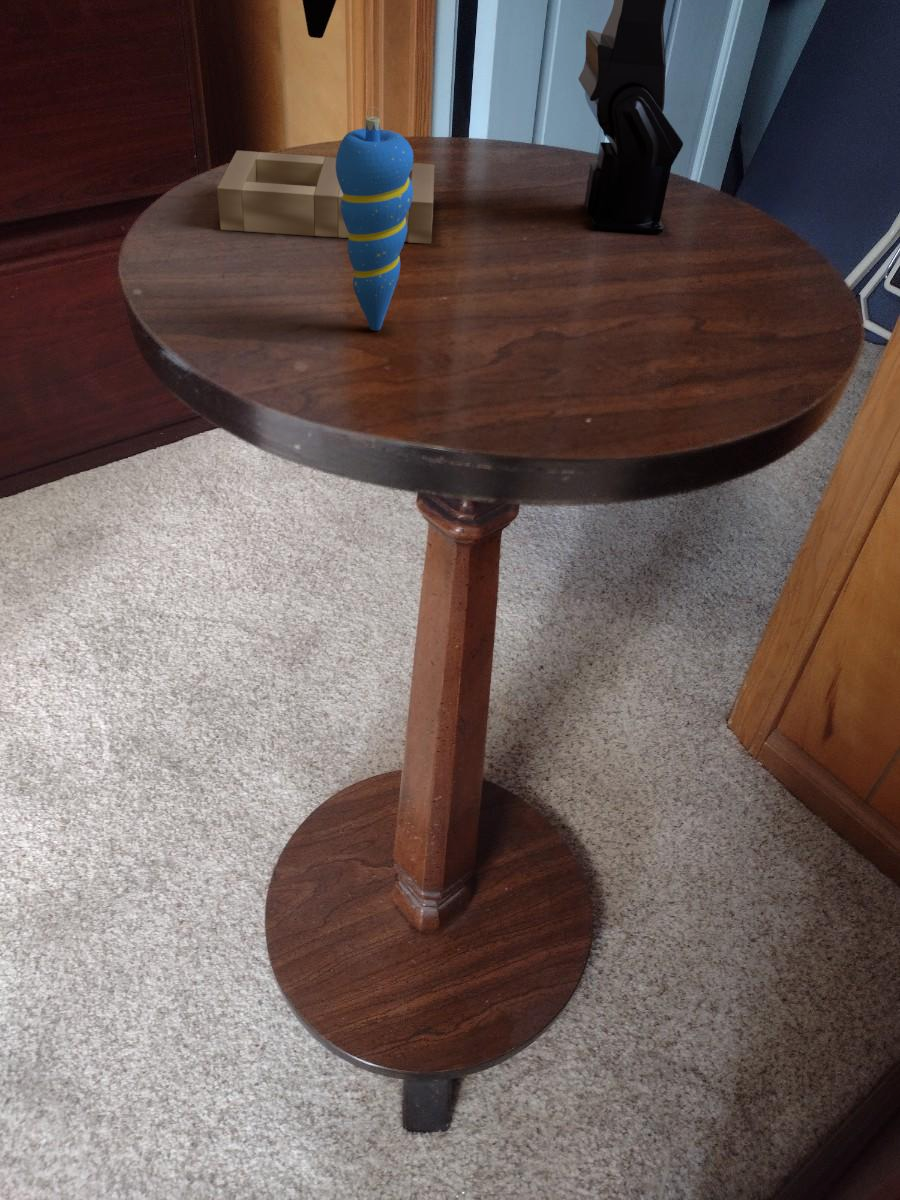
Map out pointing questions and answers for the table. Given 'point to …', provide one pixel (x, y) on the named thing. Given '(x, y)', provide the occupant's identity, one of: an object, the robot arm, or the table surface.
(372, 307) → the ornament
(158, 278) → the table surface
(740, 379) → the table surface
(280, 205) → the rack
